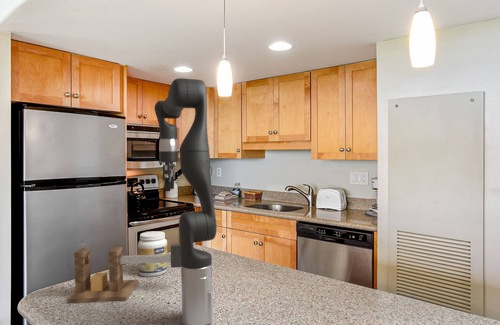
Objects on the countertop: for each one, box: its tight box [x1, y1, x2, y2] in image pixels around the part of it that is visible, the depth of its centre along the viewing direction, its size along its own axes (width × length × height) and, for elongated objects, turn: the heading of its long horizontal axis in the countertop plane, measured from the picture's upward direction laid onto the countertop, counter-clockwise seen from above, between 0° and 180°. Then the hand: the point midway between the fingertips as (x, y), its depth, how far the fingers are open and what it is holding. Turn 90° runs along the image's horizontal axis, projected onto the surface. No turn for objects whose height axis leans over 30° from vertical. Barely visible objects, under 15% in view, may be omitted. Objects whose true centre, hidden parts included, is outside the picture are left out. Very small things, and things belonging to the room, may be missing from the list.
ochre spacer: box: [90, 272, 109, 291], centre depth 124 cm, size 5×5×4 cm
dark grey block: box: [119, 243, 181, 268], centre depth 124 cm, size 24×3×8 cm, turn 94°
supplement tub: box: [137, 230, 169, 278], centre depth 144 cm, size 12×12×17 cm
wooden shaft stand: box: [66, 246, 140, 304], centre depth 123 cm, size 20×16×16 cm
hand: (169, 190), depth 136 cm, fingers open, 8 cm apart
